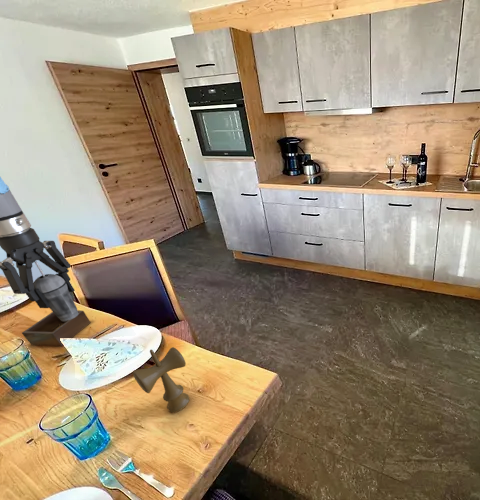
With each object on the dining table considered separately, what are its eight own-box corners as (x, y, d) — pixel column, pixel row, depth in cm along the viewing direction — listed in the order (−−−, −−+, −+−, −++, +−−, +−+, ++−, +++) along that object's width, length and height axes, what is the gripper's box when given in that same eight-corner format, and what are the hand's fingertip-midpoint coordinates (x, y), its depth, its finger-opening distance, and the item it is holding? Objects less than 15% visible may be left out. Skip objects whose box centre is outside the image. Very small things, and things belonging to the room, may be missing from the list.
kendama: (154, 413, 73) (121, 358, 64) (191, 384, 80) (166, 331, 71) (165, 426, 70) (132, 370, 61) (202, 396, 77) (178, 341, 67)
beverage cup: (53, 327, 88) (13, 272, 79) (56, 315, 94) (20, 262, 84) (83, 317, 92) (49, 263, 82) (84, 306, 97) (53, 254, 88)
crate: (31, 345, 96) (21, 332, 94) (62, 322, 106) (54, 310, 103) (61, 346, 95) (52, 333, 93) (90, 322, 105) (83, 310, 102)
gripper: (-19, 249, 69) (35, 321, 80) (61, 217, 87) (96, 280, 98) (-46, 249, 70) (11, 321, 81) (39, 217, 88) (76, 280, 98)
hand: (58, 298), depth 89 cm, fingers closed on beverage cup, 7 cm apart
